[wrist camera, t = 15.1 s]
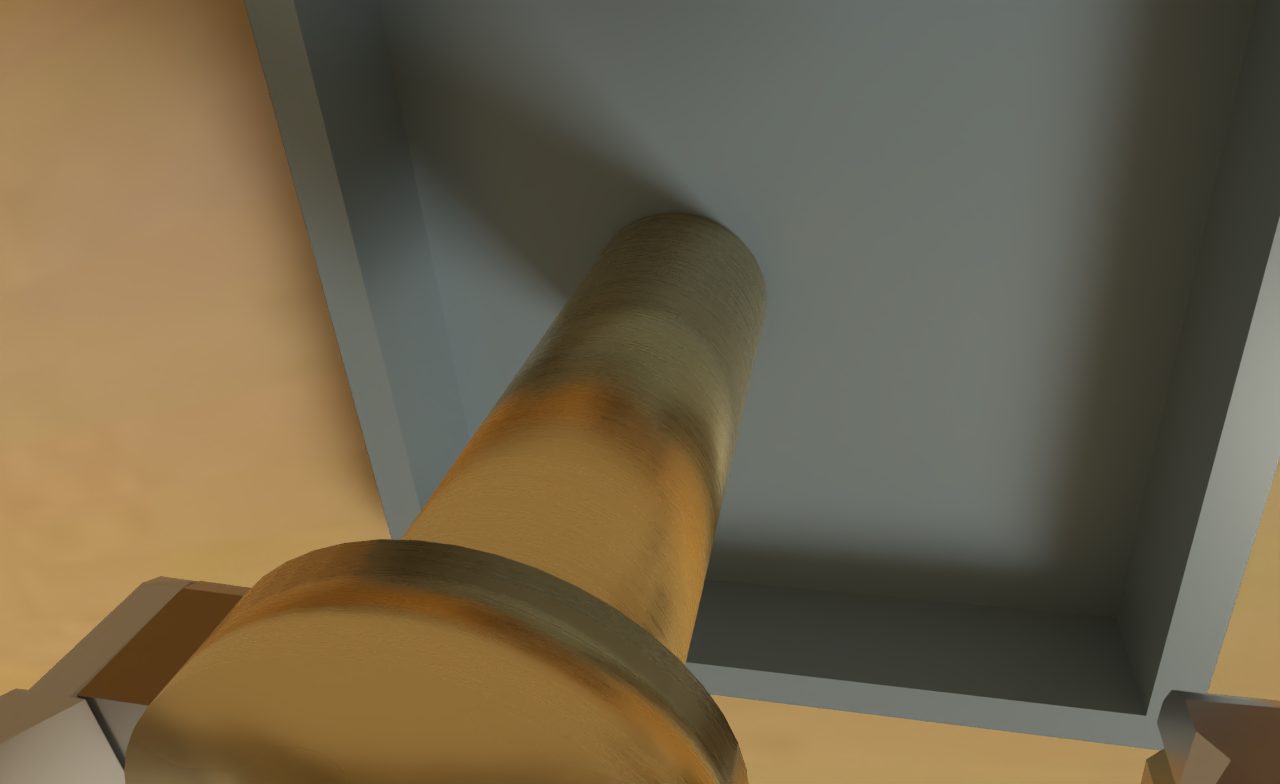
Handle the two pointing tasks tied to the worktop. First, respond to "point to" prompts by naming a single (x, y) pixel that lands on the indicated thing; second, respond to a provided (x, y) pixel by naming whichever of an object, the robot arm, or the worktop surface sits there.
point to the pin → (513, 571)
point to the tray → (852, 307)
